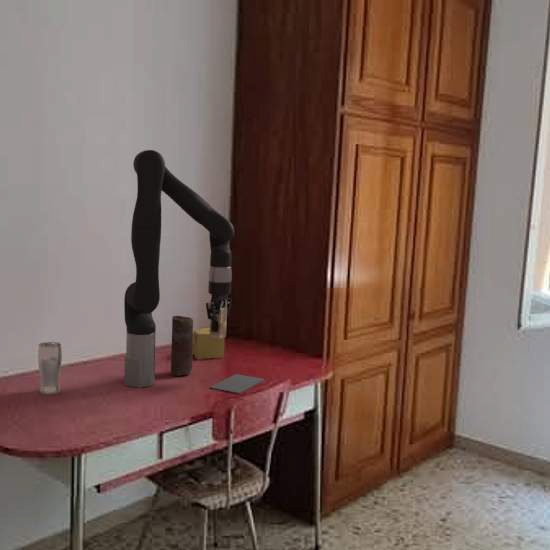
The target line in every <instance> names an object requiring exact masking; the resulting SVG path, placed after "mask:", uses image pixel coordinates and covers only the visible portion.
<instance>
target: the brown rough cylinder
mask: <svg viewBox="0 0 550 550" xmlns="http://www.w3.org/2000/svg"><path fill="white" fill-rule="evenodd" d="M193 333H194V319H193V318H192V317H189V316H182V315H173V316H172V322H171V351H170V353H171V354H170V358H171V359H170V374H171V376H175V377H177V376H186V375H189V374H191V373H192V372H193V354H192V351H193Z"/></svg>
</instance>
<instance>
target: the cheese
mask: <svg viewBox="0 0 550 550" xmlns="http://www.w3.org/2000/svg"><path fill="white" fill-rule="evenodd" d="M224 352H225V337H224V338H221V339H218V338H212V337H210V327H202V328H200V329H197V330H196V329H195V330H193V351H192V353H193V354H194V355H195V356H196V357H195V356H194V355H193V354H192V355H193V356H194V357H195V359H196V358H197V359H196V360H199V359H198V358H215V359H222V358H221V357H224ZM219 357H220V358H219Z"/></svg>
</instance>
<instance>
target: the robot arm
mask: <svg viewBox="0 0 550 550" xmlns="http://www.w3.org/2000/svg"><path fill="white" fill-rule="evenodd" d="M133 169H134V172H135V173H136V176H137V177H136V179H137V193H136V195H137V196H136V201H135V205H134V210H133V213H132V214H133V215H132V219H131V220H132V221H131V235H130V236H131V237H130V243H131V249H132V253H133V258H134V261H135V263H134V264H135V269H136V270H135V273H136V277H135V281H134V282H132V283H131V284H129V285H128V286H127V288H126V290H125V293H124V301H123V302H124V303H123V304H124V305H123V306H124V322H125V326H126V339H125V340H126V347H125V350H126V351H125V352H126V353H125V354H126V355H125V356H124V366H123V367H124V371H123V372H124V377H123V378H124V379H123V382H124V383H123V385H124V386H129V387H132V388H138V389H141V388H147V387H151V386H153V385H155V380H156V379H155V375H156V373H155V372H156V367H155V366H156V323H155V321H154V319H153V312H154V311H155V310H156V309H157V307H159V303H160V298H161V297H160V295H161V294H160V282H159V281H160V277H159V273H160V271H159V269H160V268H159V265H160V256H161V255H160V254H161V238H162V192H163V193H164V194H165V195H167V196H168V197H169V198H170V199H171V200H172V201H173V202H174V203H175V204H176V205H177V206H178V207H180V208H181V209H182V210H183V211H184V212H185V213H186V214H187V215H188V216H189V217H191V219H192V220H194V221H195V222H196V223H198V224H199V225H201V226H202V227H204V228H205V229H206V230H207V231H208V232H209V248H210V257H209V258H210V260H209V271H208V294H209V295H211V298H210V301H209V302H206V303H205V307H206V316H207V320H212V328H211V330H212V332H218V320H219V314H220V310H221V309H222V307H225V308H226V307H227V317H229V316H230V312H231V306H232V302H233V298H231V297H228V296H229V295H230V294H232V278H233V275H232V274H233V273H232V257H233V256H232V251H231V249H230V240H232V239H233V237H234V235H235V232H236V231H235V226H234V224H233V223H232V222H231V221H230V220H228V219H227V218H226V217H225V216H224V215H222V214H221V213H220V212H218V211H217V210H216V209H215V208H214V207H212V206H211V205H210V203H208V202H207V201H206V200H205V199H204V198H203V197H202V196H201V195H199V194H198V193H197V192H196V191H195V190H193V189H192V188H190V186H188V185H187V184H185V183H183V182H182V181H181V180H180V179H179V178H178V177H176V176H175V175H174V174H173V173H172V172H171V171H170V170H169V169H168V168H167V166H166V161H165V159H164V157H163V156H162V154H161V153H160V152H158V151H156V150H154V149H153V150H152V149H147V150H142V151H140V152H139V153H138V154H136V156H135V157H134V159H133ZM215 310H218V311H215ZM215 313H216V314H215Z"/></svg>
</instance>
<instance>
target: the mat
mask: <svg viewBox="0 0 550 550" xmlns="http://www.w3.org/2000/svg"><path fill="white" fill-rule="evenodd" d="M264 381H265V378H261V377H255V376H248V375H243V374H239V373H238V374H237V373H235V374H233V375H231V376H229V377H227V378H225V379H222V380H220V381H218V382H217V383H215V384H212V385H211V386H209V389H211V388H213V389H212V390H216V389H218V390H217V391H221V390H223V392H227V391H228V392H227V393H231V394H233V393H234V394H237V395H240V394H242V393H244V392H246V391H247V390H249V389H251V388H253V387H255V386H257V385H258V384H260V383H262V382H264Z"/></svg>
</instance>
